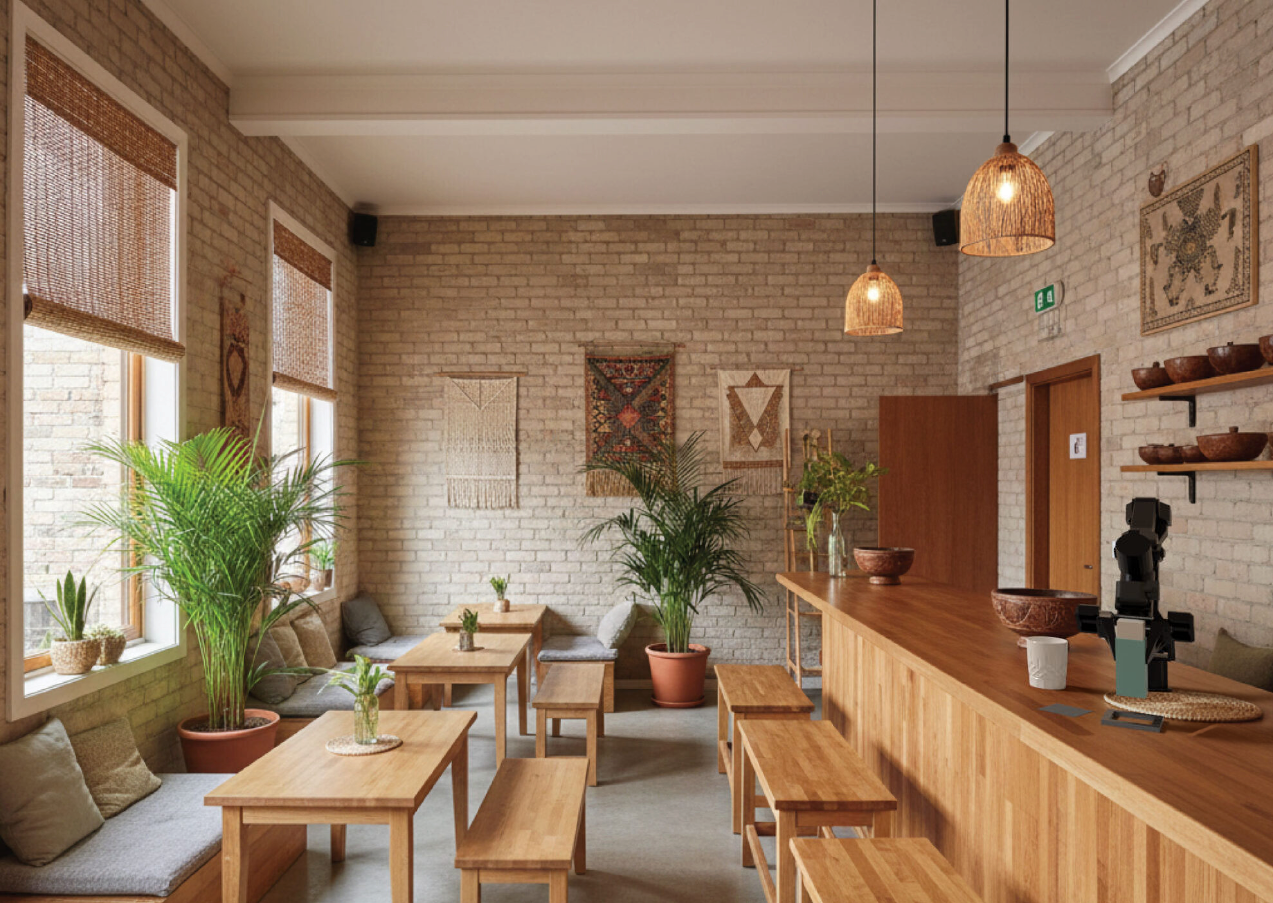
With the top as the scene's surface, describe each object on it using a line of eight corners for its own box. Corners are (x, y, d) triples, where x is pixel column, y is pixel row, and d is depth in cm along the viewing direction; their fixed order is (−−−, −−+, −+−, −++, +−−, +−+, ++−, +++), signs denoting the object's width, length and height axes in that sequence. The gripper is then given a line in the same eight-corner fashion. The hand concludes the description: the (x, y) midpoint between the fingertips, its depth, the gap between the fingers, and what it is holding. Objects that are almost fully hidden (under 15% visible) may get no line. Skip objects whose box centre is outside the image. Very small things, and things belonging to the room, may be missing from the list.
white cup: (1073, 693, 178) (1072, 644, 179) (1031, 691, 180) (1031, 642, 180) (1062, 684, 186) (1061, 637, 186) (1023, 682, 188) (1022, 635, 188)
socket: (1099, 712, 164) (1099, 705, 164) (1174, 722, 157) (1174, 715, 157) (1089, 727, 154) (1089, 720, 154) (1169, 739, 147) (1169, 731, 147)
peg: (1119, 689, 159) (1118, 617, 159) (1147, 693, 156) (1146, 620, 157) (1116, 695, 155) (1115, 621, 155) (1145, 698, 153) (1144, 623, 153)
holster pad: (1056, 705, 169) (1056, 703, 169) (1093, 713, 163) (1093, 711, 163) (1037, 711, 164) (1037, 709, 164) (1074, 720, 159) (1074, 717, 159)
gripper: (1075, 560, 165) (1066, 628, 156) (1193, 566, 154) (1190, 639, 145) (1082, 597, 171) (1074, 664, 162) (1196, 606, 160) (1194, 678, 151)
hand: (1130, 661), depth 155 cm, fingers closed on peg, 4 cm apart
